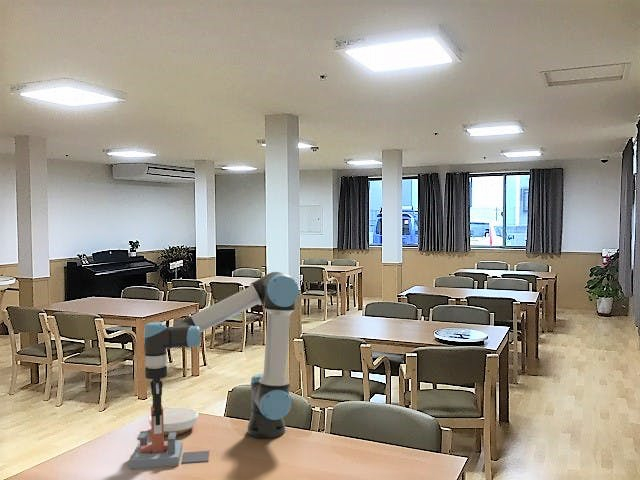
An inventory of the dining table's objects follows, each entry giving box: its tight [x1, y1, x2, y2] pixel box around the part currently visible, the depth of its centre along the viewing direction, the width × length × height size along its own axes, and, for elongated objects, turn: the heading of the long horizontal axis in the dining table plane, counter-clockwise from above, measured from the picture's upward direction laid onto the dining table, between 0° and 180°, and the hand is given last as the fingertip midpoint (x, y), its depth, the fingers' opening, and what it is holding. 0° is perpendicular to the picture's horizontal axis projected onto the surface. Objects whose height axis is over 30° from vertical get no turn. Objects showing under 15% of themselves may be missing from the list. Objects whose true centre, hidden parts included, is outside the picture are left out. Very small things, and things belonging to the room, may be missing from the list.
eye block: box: [130, 430, 184, 470], centre depth 204 cm, size 16×16×8 cm
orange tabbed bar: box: [141, 405, 168, 454], centre depth 204 cm, size 12×4×18 cm, turn 109°
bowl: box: [148, 407, 199, 436], centre depth 232 cm, size 20×20×6 cm
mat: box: [181, 450, 210, 465], centre depth 204 cm, size 9×9×1 cm
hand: (157, 430), depth 204 cm, fingers closed on orange tabbed bar, 4 cm apart
